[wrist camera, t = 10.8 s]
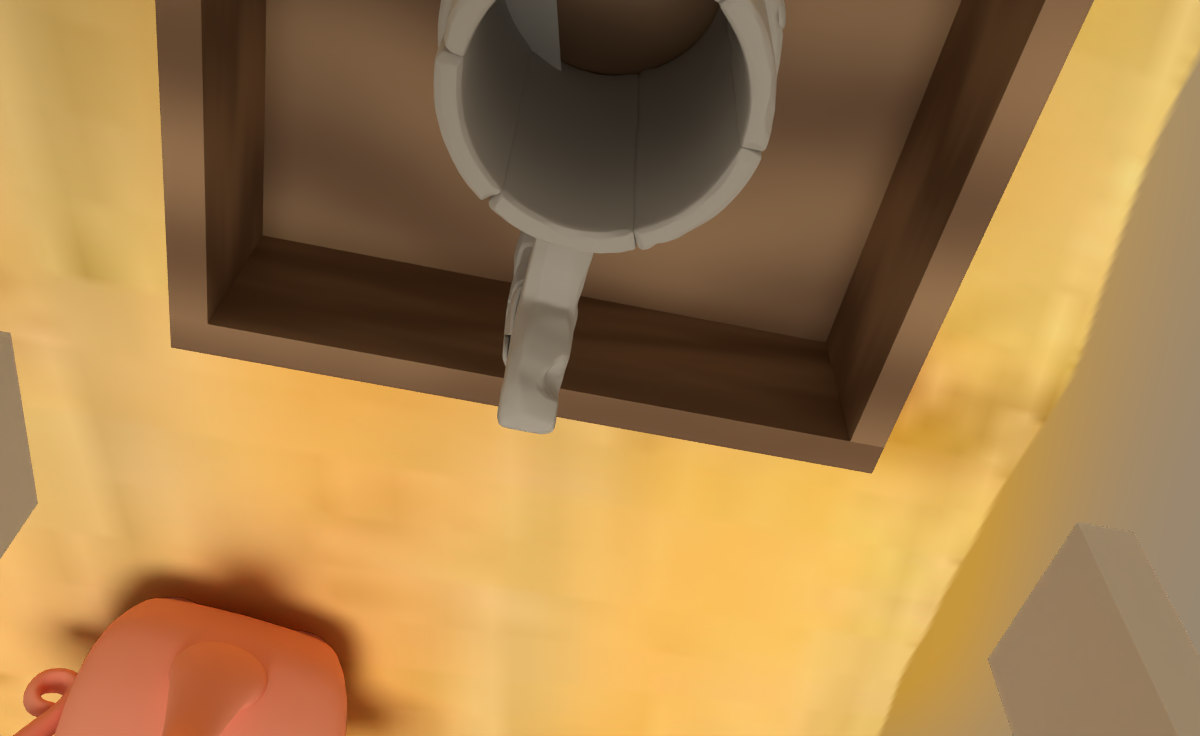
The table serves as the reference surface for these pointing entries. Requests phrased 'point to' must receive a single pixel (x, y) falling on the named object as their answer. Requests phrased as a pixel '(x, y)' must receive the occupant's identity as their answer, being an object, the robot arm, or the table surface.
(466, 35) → the mug
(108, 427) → the table surface
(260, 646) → the teapot
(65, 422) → the table surface
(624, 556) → the table surface
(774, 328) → the crate
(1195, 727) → the robot arm
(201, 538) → the table surface
